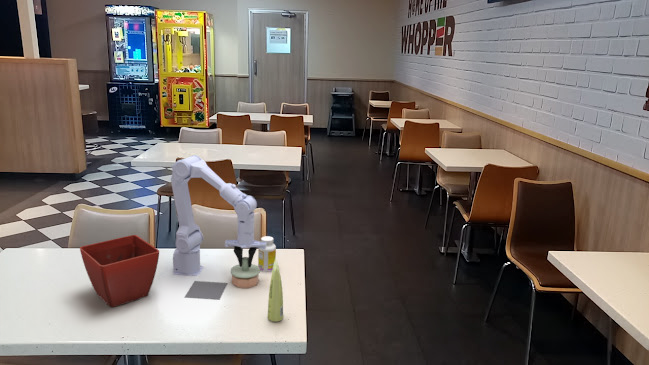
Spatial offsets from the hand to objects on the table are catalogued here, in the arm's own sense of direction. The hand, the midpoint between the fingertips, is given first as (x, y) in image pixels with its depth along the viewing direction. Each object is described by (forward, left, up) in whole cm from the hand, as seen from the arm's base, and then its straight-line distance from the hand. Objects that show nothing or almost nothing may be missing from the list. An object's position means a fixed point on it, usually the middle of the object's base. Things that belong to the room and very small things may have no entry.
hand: (245, 265), depth 176 cm
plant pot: (-39, -14, -7) cm, 42 cm away
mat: (-12, -8, -7) cm, 16 cm away
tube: (+14, -22, -7) cm, 27 cm away
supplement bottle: (+6, +12, -7) cm, 15 cm away
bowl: (0, 0, -7) cm, 7 cm away
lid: (0, 0, -2) cm, 2 cm away
